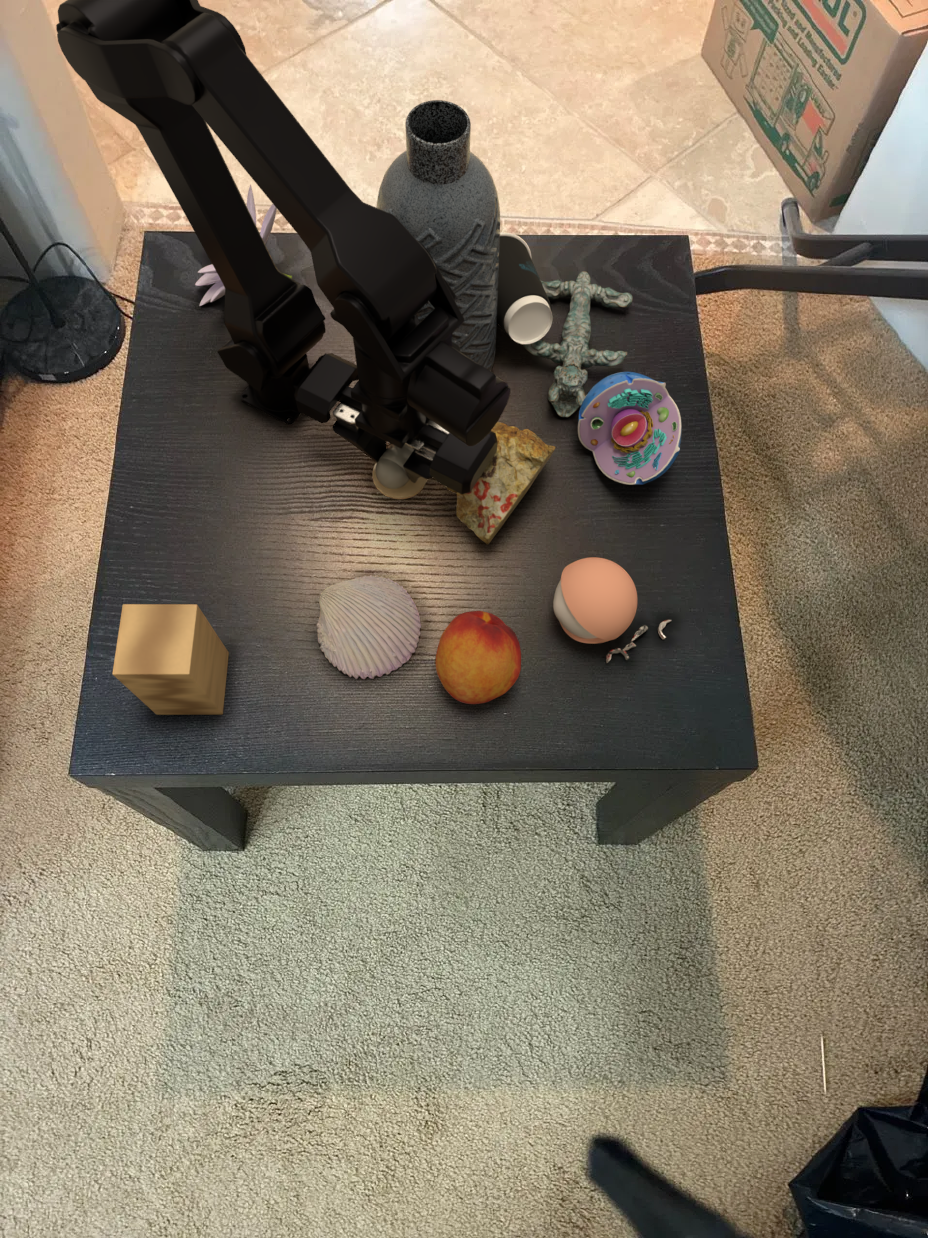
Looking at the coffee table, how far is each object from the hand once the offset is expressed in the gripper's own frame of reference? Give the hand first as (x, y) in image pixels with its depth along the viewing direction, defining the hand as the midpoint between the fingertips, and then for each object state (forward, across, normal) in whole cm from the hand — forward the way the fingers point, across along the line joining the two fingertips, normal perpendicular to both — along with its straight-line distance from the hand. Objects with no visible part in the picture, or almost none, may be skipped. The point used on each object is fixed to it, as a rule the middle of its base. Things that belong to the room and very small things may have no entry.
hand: (399, 470), depth 88 cm
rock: (+1, -9, -2) cm, 9 cm away
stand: (+1, +5, +28) cm, 29 cm away
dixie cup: (-6, -5, -18) cm, 20 cm away
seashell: (+1, -6, +16) cm, 17 cm away
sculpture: (+1, -8, -23) cm, 25 cm away
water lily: (+1, +23, -15) cm, 28 cm away
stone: (+1, 0, 0) cm, 1 cm away
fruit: (+1, -17, +14) cm, 22 cm away
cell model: (0, -22, -15) cm, 26 cm away
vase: (+1, +4, -15) cm, 15 cm away
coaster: (+1, 0, 0) cm, 1 cm away
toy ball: (+1, -24, +4) cm, 24 cm away
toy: (+1, -30, +5) cm, 30 cm away
